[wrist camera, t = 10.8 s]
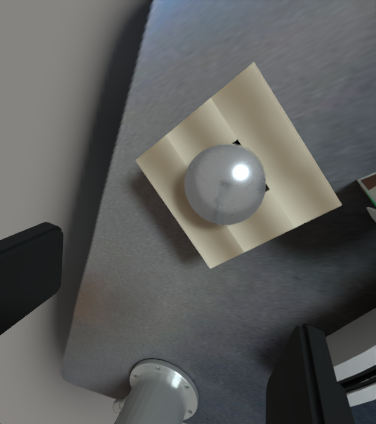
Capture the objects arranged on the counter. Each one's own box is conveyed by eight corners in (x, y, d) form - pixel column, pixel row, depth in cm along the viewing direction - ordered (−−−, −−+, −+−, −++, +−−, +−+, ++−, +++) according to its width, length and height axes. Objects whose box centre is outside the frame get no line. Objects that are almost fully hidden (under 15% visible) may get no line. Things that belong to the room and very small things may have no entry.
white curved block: (329, 377, 34) (322, 437, 26) (302, 345, 36) (288, 392, 27) (459, 312, 27) (508, 366, 19) (418, 276, 29) (446, 311, 20)
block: (220, 245, 33) (210, 268, 28) (158, 154, 32) (135, 160, 26) (328, 189, 27) (342, 204, 22) (257, 75, 26) (253, 62, 20)
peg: (226, 211, 31) (212, 237, 24) (194, 163, 30) (169, 175, 23) (279, 180, 28) (282, 199, 21) (245, 126, 27) (235, 126, 20)
